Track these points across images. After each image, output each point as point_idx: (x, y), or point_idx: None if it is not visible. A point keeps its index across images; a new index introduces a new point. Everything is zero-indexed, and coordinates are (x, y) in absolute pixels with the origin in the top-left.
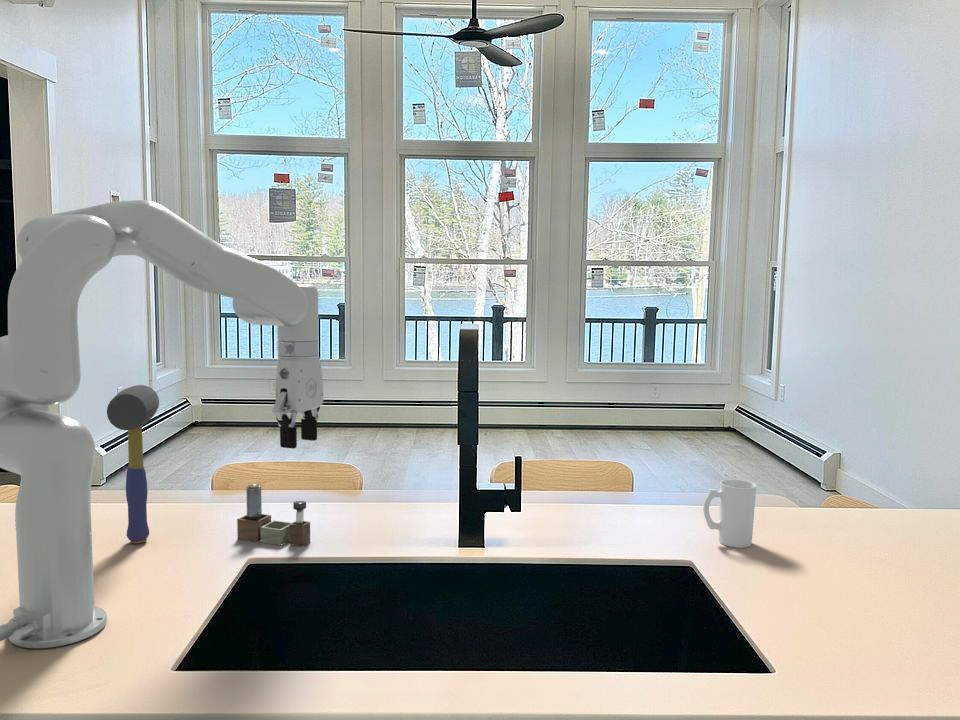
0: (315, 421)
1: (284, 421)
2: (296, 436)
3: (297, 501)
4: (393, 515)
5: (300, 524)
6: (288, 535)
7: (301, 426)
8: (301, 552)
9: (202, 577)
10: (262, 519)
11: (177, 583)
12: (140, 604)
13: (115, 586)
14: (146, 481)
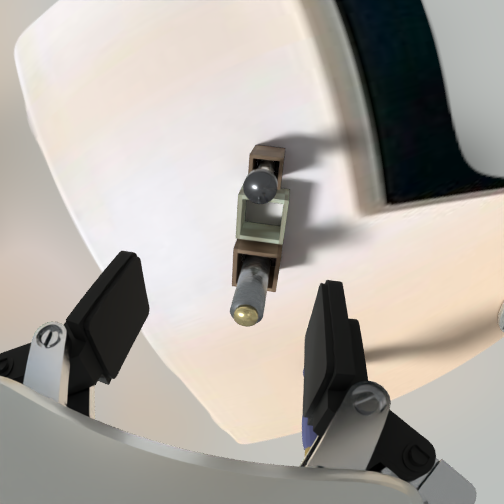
0: (82, 320)
1: (416, 435)
2: (334, 322)
3: (250, 198)
4: (74, 78)
5: (272, 167)
6: None
7: (126, 354)
8: (316, 138)
9: (437, 247)
10: (264, 252)
11: (453, 265)
12: (498, 271)
13: (451, 317)
14: (311, 426)
